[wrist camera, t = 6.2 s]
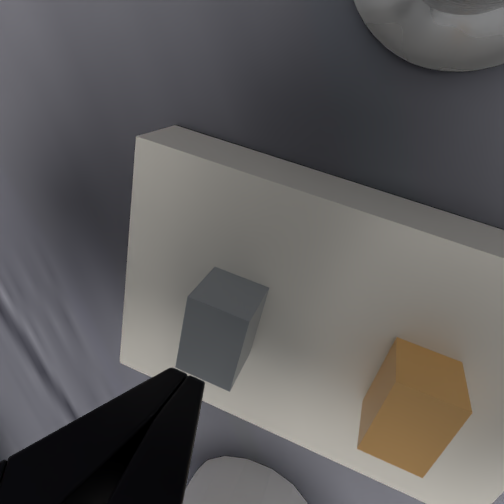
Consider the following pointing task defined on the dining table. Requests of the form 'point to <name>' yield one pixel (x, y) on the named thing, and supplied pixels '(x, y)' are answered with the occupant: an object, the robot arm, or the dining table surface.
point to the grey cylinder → (239, 484)
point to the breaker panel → (321, 312)
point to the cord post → (439, 31)
